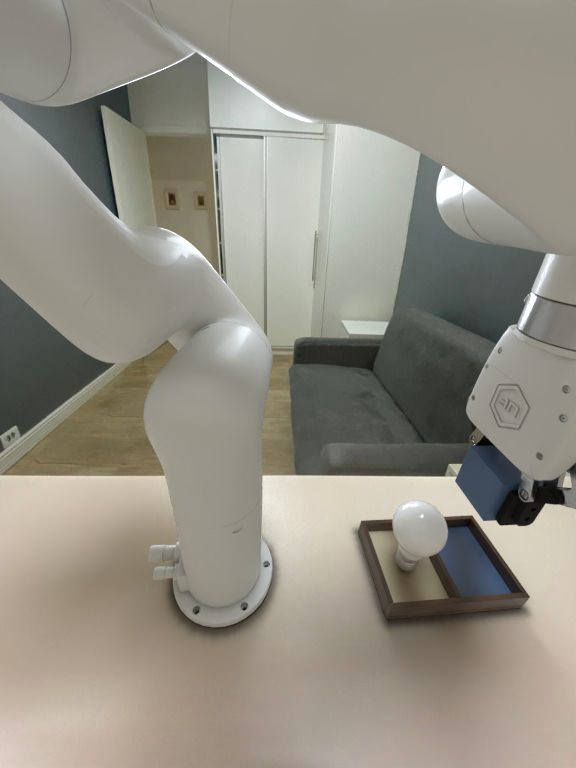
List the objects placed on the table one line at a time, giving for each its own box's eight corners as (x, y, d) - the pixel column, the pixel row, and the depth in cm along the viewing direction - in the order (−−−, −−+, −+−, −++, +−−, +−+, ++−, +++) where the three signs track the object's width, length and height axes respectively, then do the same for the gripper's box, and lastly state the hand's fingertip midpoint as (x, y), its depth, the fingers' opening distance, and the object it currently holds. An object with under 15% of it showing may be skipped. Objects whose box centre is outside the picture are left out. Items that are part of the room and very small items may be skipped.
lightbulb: (378, 578, 40) (398, 524, 35) (381, 536, 45) (398, 483, 40) (430, 596, 39) (459, 542, 33) (427, 550, 44) (451, 497, 38)
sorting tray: (386, 619, 37) (390, 608, 36) (357, 531, 47) (360, 520, 46) (521, 608, 39) (530, 597, 38) (466, 525, 49) (472, 515, 48)
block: (483, 521, 29) (503, 483, 27) (454, 481, 33) (469, 445, 31) (532, 519, 30) (556, 482, 27) (497, 479, 34) (515, 444, 31)
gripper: (465, 296, 30) (419, 443, 38) (670, 382, 15) (517, 589, 24) (538, 297, 30) (475, 441, 39) (804, 382, 15) (606, 583, 24)
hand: (492, 496), depth 31 cm, fingers closed on block, 5 cm apart
